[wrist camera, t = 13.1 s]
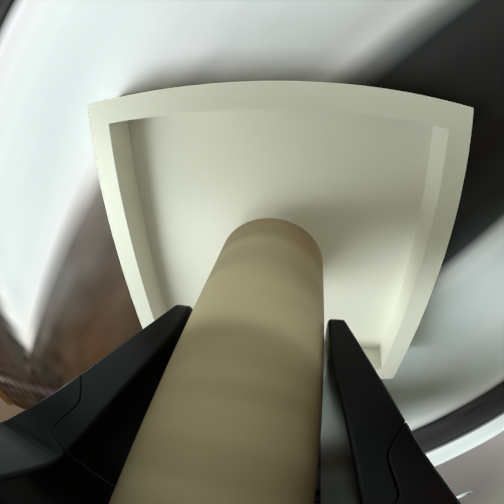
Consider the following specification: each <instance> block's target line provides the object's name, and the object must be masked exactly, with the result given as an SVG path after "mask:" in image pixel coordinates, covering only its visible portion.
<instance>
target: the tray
mask: <svg viewBox="0 0 504 504" xmlns="http://www.w3.org/2000/svg"><path fill="white" fill-rule="evenodd" d="M87 107H88V115H89V122H90V129H91V136H92V142H93V148H94V154H95V160H96V165H97V170H98V175H99V180H100V185H101V190H102V194H103V199H104V203H105V207H106V211H107V215H108V219H109V223H110V227H111V231H112V235H113V239H114V242H115V246H116V249H117V253H118V256H119V260H120V263H121V266H122V270H123V273H124V276H125V279H126V282H127V285H128V288H129V291H130V294H131V297H132V300H133V303H134V306H135V309H136V312H137V314H138V317H139V320H140V323H141V325H142V328H143V329H144V328H145V327H146V326H148V325H149V324H151V323H152V322H153V321H155V320H156V319H157V318H159V317H160V316H162V315H163V314H164V313H166V312H167V311H168V310H170V309H171V308H173V307H174V306H176V305H187V306H191V307H192V309H193V308H194V306H195V304H196V302H197V300H198V298H199V296H200V294H201V291H202V289H203V287H204V285H205V283H206V281H207V279H208V277H209V275H210V273H211V271H212V268H213V266H214V264H215V262H216V260H217V258H218V256H219V254H220V252H221V250H222V248H223V246H224V244H225V242H226V240H227V238H228V237H229V235H230V234H231V233H232V232H233V231H234V230H235V229H237V228H238V227H239V226H241V225H243V224H244V223H247V222H249V221H252V220H256V219H262V218H274V219H281V220H285V221H288V222H291V223H293V224H295V225H297V226H299V227H301V228H302V229H304V230H305V231H306V232H307V233H309V234H310V235H311V236H312V238H313V239H314V240H315V242H316V243H317V245H318V247H319V249H320V251H321V254H322V260H323V284H324V339H325V333H326V328H327V323H328V321H329V320H330V319H340V320H344V321H345V322H346V324H347V325H348V327H349V328H350V330H351V331H352V333H353V335H354V336H355V338H356V339H357V341H358V343H359V344H360V346H361V347H362V349H363V351H364V352H365V354H366V356H367V357H368V359H369V360H370V362H371V364H372V365H373V367H374V369H375V370H376V372H377V374H378V375H379V377H380V379H393V377H394V376H395V374H396V372H397V370H398V368H399V366H400V364H401V362H402V360H403V358H404V356H405V354H406V352H407V350H408V348H409V346H410V343H411V341H412V339H413V337H414V335H415V332H416V330H417V328H418V326H419V323H420V321H421V319H422V316H423V314H424V311H425V309H426V306H427V304H428V301H429V299H430V296H431V294H432V291H433V288H434V286H435V283H436V280H437V277H438V274H439V271H440V268H441V265H442V262H443V259H444V256H445V253H446V250H447V246H448V243H449V240H450V236H451V233H452V229H453V225H454V222H455V218H456V214H457V210H458V205H459V201H460V197H461V192H462V187H463V182H464V177H465V172H466V166H467V160H468V154H469V147H470V140H471V132H472V122H473V112H474V108H472V107H469V106H465V105H462V104H458V103H454V102H450V101H446V100H442V99H438V98H434V97H429V96H424V95H419V94H414V93H409V92H404V91H398V90H392V89H385V88H378V87H371V86H362V85H353V84H343V83H331V82H314V81H238V82H222V83H209V84H199V85H189V86H181V87H173V88H166V89H160V90H153V91H147V92H142V93H136V94H131V95H126V96H121V97H116V98H112V99H108V100H103V101H99V102H95V103H91V104H87Z"/></svg>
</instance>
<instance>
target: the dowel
mask: <svg viewBox="0 0 504 504" xmlns="http://www.w3.org/2000/svg"><path fill="white" fill-rule="evenodd" d="M323 375H324V284H323V260H322V254H321V251H320V249H319V247H318V245H317V243H316V242H315V240H314V239H313V238H312V236H311V235H310V234H309V233H307V232H306V231H305V230H304V229H302V228H301V227H299V226H297V225H295V224H293V223H291V222H288V221H285V220H281V219H274V218H262V219H256V220H252V221H249V222H247V223H244V224H243V225H241V226H239V227H238V228H237V229H235V230H234V231H233V232H232V233H231V234H230V235H229V237H228V238H227V240H226V242H225V244H224V246H223V248H222V250H221V252H220V254H219V256H218V258H217V260H216V262H215V264H214V266H213V268H212V271H211V273H210V275H209V277H208V279H207V281H206V283H205V285H204V287H203V289H202V291H201V294H200V296H199V298H198V300H197V302H196V304H195V306H194V308H193V311H192V313H191V315H190V317H189V319H188V321H187V323H186V326H185V328H184V330H183V332H182V334H181V336H180V339H179V341H178V343H177V345H176V347H175V349H174V352H173V354H172V356H171V358H170V360H169V363H168V365H167V367H166V369H165V372H164V374H163V376H162V378H161V381H160V383H159V385H158V387H157V390H156V392H155V394H154V396H153V399H152V401H151V403H150V405H149V408H148V410H147V412H146V415H145V417H144V419H143V422H142V424H141V426H140V429H139V431H138V433H137V436H136V438H135V440H134V443H133V445H132V447H131V450H130V452H129V455H128V457H127V459H126V462H125V464H124V467H123V469H122V472H121V474H120V477H119V479H118V481H117V484H116V486H115V489H114V491H113V494H112V496H111V499H110V501H109V504H314V502H315V494H316V485H317V475H318V464H319V452H320V438H321V422H322V403H323Z"/></svg>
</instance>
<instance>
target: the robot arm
mask: <svg viewBox="0 0 504 504" xmlns="http://www.w3.org/2000/svg"><path fill="white" fill-rule="evenodd" d="M192 311H193V309H192V307H191V306H187V305H176V306H174V307H173V308H171V309H170V310H168V311H167V312H166V313H164V314H163V315H162V316H160V317H159V318H157V319H156V320H155V321H153V322H152V323H151V324H149V325H148V326H146V327H145V328H144V329H142V330H141V331H140V332H138V333H137V334H135V335H134V336H133V337H131V338H130V339H129V340H127V341H126V342H124V343H123V344H122V345H120V346H119V347H118V348H116V349H115V350H113V351H112V352H111V353H109V354H108V355H107V356H105V357H104V358H102V359H101V360H100V361H98V362H97V363H96V364H94V365H93V366H91V367H90V368H89V369H87V370H86V371H85V372H83V373H82V375H79V376H78V377H76V378H75V379H73V380H72V381H71V382H69V383H68V384H66V385H65V386H63V387H62V388H61V389H59V390H58V391H56V392H55V393H53V394H51V395H50V396H48V397H47V398H45V399H43V400H42V401H40V402H38V403H37V404H35V405H33V406H31V407H30V408H28V409H26V410H24V411H23V412H21V413H19V414H17V415H16V416H14V417H12V418H10V419H8V420H6V421H3V422H0V504H109V501H110V499H111V496H112V494H113V491H114V489H115V486H116V484H117V481H118V479H119V477H120V474H121V472H122V469H123V467H124V464H125V462H126V459H127V457H128V455H129V452H130V450H131V447H132V445H133V443H134V440H135V438H136V436H137V433H138V431H139V429H140V426H141V424H142V422H143V419H144V417H145V415H146V412H147V410H148V408H149V405H150V403H151V401H152V399H153V396H154V394H155V392H156V390H157V387H158V385H159V383H160V381H161V378H162V376H163V374H164V372H165V369H166V367H167V365H168V363H169V360H170V358H171V356H172V354H173V352H174V349H175V347H176V345H177V343H178V341H179V339H180V336H181V334H182V332H183V330H184V328H185V326H186V323H187V321H188V319H189V317H190V315H191V313H192ZM404 422H405V419H404V418H403V416H402V414H401V412H400V411H399V409H398V407H397V406H396V404H395V402H394V400H393V399H392V397H391V395H390V394H389V392H388V390H387V389H386V387H385V385H384V384H383V382H382V380H381V379H380V377H379V375H378V374H377V372H376V370H375V369H374V367H373V365H372V364H371V362H370V360H369V359H368V357H367V356H366V354H365V352H364V351H363V349H362V347H361V346H360V344H359V343H358V341H357V339H356V338H355V336H354V335H353V333H352V331H351V330H350V328H349V327H348V325H347V324H346V322H345V321H344V320H340V319H330V320H329V321H328V323H327V328H326V333H325V339H324V375H323V403H322V422H321V438H320V452H319V464H318V475H317V485H316V494H315V502H314V504H461V503H460V502H459V501H458V499H457V498H456V496H455V495H454V494H453V492H452V491H451V490H450V488H449V487H448V485H447V484H446V483H445V481H444V480H443V479H442V477H441V476H440V474H439V473H438V472H437V470H436V469H435V468H434V466H433V465H432V463H431V462H430V460H429V459H428V457H427V456H426V455H425V453H424V452H423V450H422V448H421V447H420V445H419V443H418V442H417V440H416V438H415V437H414V435H413V433H412V432H411V430H410V428H409V426H408V424H407V423H404Z"/></svg>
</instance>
